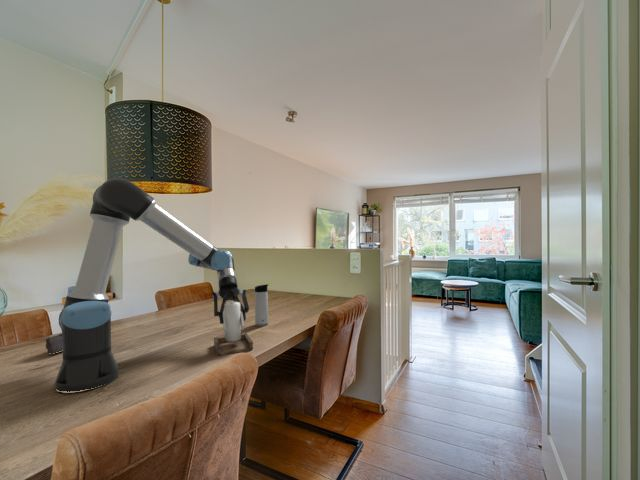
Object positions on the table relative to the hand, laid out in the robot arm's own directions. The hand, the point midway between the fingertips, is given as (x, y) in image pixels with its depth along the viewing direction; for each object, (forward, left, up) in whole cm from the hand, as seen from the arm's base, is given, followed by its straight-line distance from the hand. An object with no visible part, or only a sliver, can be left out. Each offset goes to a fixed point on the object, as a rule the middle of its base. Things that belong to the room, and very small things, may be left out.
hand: (234, 329), depth 114 cm
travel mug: (+18, +30, -8) cm, 36 cm away
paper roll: (0, +4, -5) cm, 6 cm away
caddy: (0, +4, -8) cm, 9 cm away
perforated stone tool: (-60, +32, -9) cm, 68 cm away
